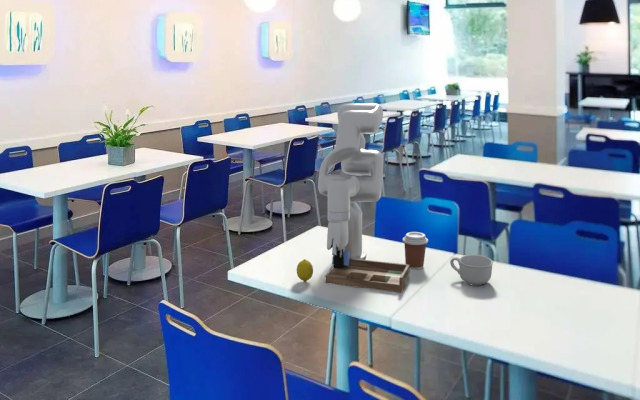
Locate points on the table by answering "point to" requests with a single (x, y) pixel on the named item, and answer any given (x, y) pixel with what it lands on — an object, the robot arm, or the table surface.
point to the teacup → (473, 268)
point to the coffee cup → (415, 249)
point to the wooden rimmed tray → (371, 275)
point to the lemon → (304, 270)
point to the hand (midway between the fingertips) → (338, 267)
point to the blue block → (345, 258)
